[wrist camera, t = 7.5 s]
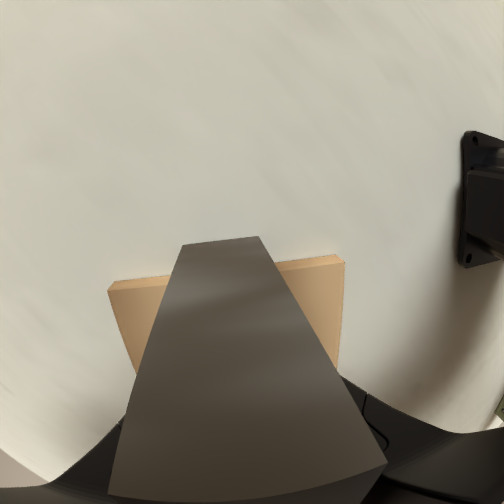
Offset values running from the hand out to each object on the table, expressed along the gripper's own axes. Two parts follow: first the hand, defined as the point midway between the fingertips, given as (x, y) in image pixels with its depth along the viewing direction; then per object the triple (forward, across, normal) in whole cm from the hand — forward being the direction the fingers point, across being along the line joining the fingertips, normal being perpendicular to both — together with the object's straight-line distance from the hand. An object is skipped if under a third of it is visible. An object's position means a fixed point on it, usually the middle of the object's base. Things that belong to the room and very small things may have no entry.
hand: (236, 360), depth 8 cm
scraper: (+2, 0, +8) cm, 8 cm away
